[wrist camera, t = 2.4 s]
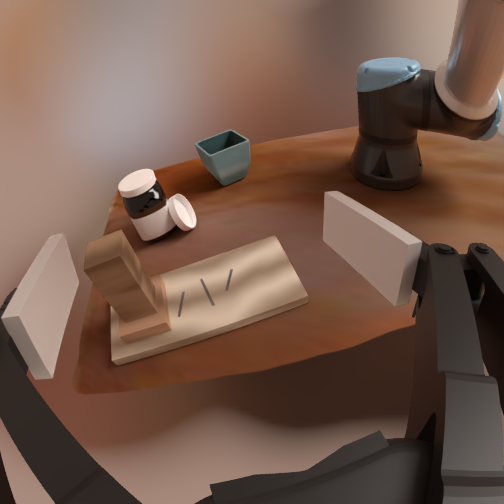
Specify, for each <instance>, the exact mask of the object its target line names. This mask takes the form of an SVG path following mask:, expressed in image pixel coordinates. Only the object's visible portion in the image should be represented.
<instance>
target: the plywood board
mask: <svg viewBox="0 0 504 504" xmlns="http://www.w3.org/2000/svg"><path fill="white" fill-rule="evenodd" d="M160 276H161V277H162V279H163V281H164V283H165V289H166V296H167V303H168V310H169V316H170V323H171V329H172V330H171V331H168V332H165V333H161V334H158V335H155V336H152V337H149V338H146V339H142V340H139V341H136V342H133V343H129V344H126V343H125V342H124V341H123V340H122V339H121V338H120V337H119V315H118V314H117V313H116V311H115V310H114V309H113V308H112V307H111V353H112V361H113V362H114V363H115V364H116V365H117V366H118V365H121V364H125V363H128V362H132V361H136V360H139V359H142V358H146V357H149V356H153V355H156V354H159V353H163V352H166V351H169V350H172V349H176V348H179V347H182V346H185V345H188V344H192V343H195V342H198V341H201V340H204V339H207V338H210V337H213V336H216V335H219V334H222V333H225V332H228V331H231V330H234V329H237V328H240V327H243V326H245V325H248V324H251V323H254V322H257V321H260V320H262V319H265V318H268V317H271V316H274V315H276V314H279V313H282V312H284V311H287V310H290V309H292V308H295V307H298V306H300V305H303V304H306V303H308V302H309V299H308V294H307V292H306V291H305V289H304V287H303V285H302V283H301V281H300V279H299V278H298V276H297V274H296V272H295V270H294V268H293V267H292V265H291V263H290V261H289V259H288V257H287V256H286V254H285V252H284V250H283V248H282V247H281V245H280V243H279V241H278V239H277V237H276V236H275V235H274V236H271V237H268V238H265V239H262V240H259V241H257V242H254V243H251V244H248V245H245V246H242V247H239V248H236V249H233V250H230V251H227V252H225V253H222V254H219V255H216V256H213V257H210V258H207V259H204V260H202V261H199V262H196V263H193V264H190V265H187V266H184V267H181V268H179V269H176V270H173V271H170V272H167V273H164V274H161V275H160Z"/></svg>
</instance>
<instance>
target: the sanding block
mask: <svg viewBox="0 0 504 504" xmlns="http://www.w3.org/2000/svg"><path fill="white" fill-rule="evenodd" d="M84 271H85V273H86V274H87V275H88V277H89V278H90V279H91V281H92V282H93V283H94V285H95V286H96V287H97V289H98V290H99V291H100V293H101V294H102V295H103V296H104V298H105V299H106V300H107V302H108V303H109V304H110V305H111V307H112V308H113V309H114V310H115V311H116V313H117V314H118V315H119V337H120V338H121V339H122V340H123V341H124V342H125V343H126V344H129V343H133V342H136V341H139V340H142V339H146V338H149V337H152V336H155V335H158V334H161V333H165V332H168V331H171V330H172V329H171V323H170V316H169V310H168V303H167V296H166V289H165V283H164V281H163V279H162V277H161V276H160V274H159V275H156V276H153V277H150V278H149V276H148V274H147V273H146V271H145V269H144V268H143V266H142V264H141V263H140V261H139V259H138V258H137V256H136V254H135V252H134V251H133V249H132V247H131V246H130V244H129V242H128V240H127V238H126V237H125V235H124V233H123V231H122V230H118V231H116V232H113V233H111V234H108V235H106V236H103V237H101V238H98V239H96V240H94V241H91V242H89V243H88V244H87V249H86V256H85V263H84Z"/></svg>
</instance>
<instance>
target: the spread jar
mask: <svg viewBox="0 0 504 504" xmlns="http://www.w3.org/2000/svg"><path fill="white" fill-rule="evenodd" d="M118 189H119V191H120V193H121V195H122V199H123V204H124V207H125V209H126V211H127V213H128V215H129V217H130V219H131V221H132V223H133V225H134V226H135V228H136V230H137V232H138V234H139V236H140V237H141V239H142V240H143V241H145V242H154V241H158V240H161V239H163V238H165V237H166V236H168V235H169V234H170V233H171V232H172V231H173V230H174V229H175V227H176V225H177V226H178V227H179V228H180V229H182V230H184V231H188V230H190V229H192V228H194V227H195V226H196V216H195V213H194V210H193V208H192V206H191V205H190V203H189V202H188V200H187V199H186V198H185V197H184V196H182V195H181V194H176V195H174V196H172V197H171V198H169V200H167V197H166V195H165V193H164V190H163V188H162V186H161V185H160V183H159V182H158V181H157V180H156V177H155V175H154V172H153V171H152V170H150V169H142V170H138V171H135V172H133V173H131V174H129V175H128V176H126V177H125V178H124V179H123V180H122V181H121V182H120V183H119V186H118Z"/></svg>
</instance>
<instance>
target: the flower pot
mask: <svg viewBox="0 0 504 504" xmlns="http://www.w3.org/2000/svg"><path fill="white" fill-rule="evenodd" d="M195 146H196V148H197V151H198V153H199V155H200V158H201V160H202V162H203V164H204V166H205V167H206V168H207V170H208V171H209V172H210V173H211V174H212V175H213V176H214V177H215V178H216V179H217V180H218V181H219V182H220V183H221V184H222V185H223V186H226V185H229V184H231V183H233V182H235V181H238V180H240V179H242V178H244V177H245V176H246V174H247V172H248V169H249V166H250V145H249V140H248V139H247V138H245V137H243V136H241V135H240V134H238V133H236V132H235V131H233V130H227V131H225V132H222V133H219V134H217V135H215V136H212V137H209V138H207V139H204V140H202V141H199V142H197V143H195Z"/></svg>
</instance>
